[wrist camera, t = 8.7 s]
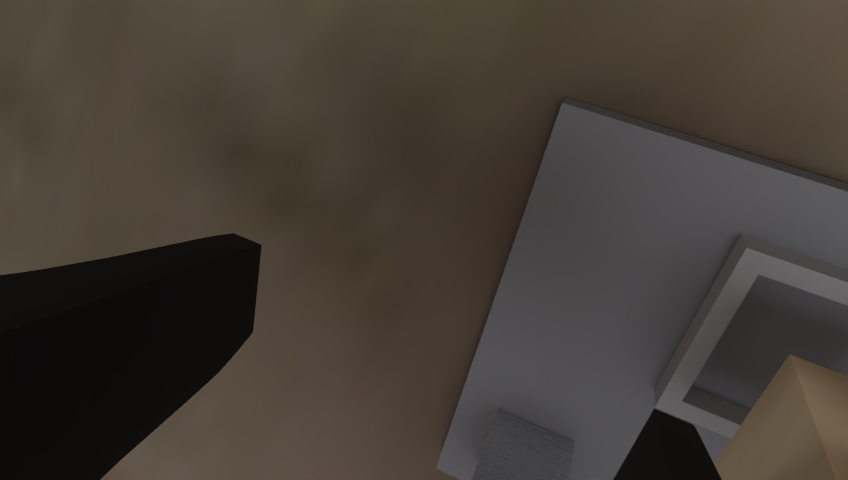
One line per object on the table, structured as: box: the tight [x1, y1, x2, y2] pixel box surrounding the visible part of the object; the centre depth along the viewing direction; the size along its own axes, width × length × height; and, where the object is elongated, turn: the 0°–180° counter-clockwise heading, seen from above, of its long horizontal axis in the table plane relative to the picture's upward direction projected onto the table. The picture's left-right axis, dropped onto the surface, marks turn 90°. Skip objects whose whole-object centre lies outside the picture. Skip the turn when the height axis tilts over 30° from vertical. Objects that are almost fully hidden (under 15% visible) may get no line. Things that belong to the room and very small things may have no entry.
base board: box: [436, 97, 848, 480], centre depth 19 cm, size 16×16×2 cm
